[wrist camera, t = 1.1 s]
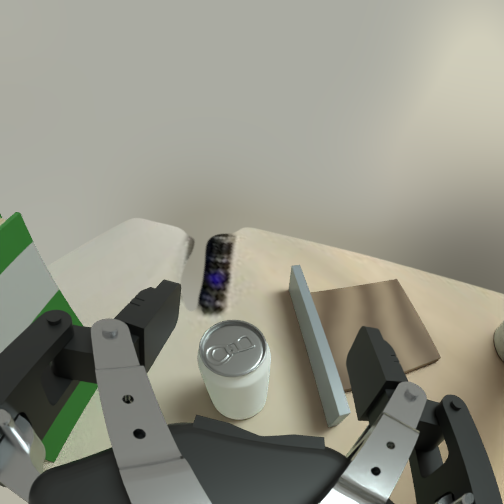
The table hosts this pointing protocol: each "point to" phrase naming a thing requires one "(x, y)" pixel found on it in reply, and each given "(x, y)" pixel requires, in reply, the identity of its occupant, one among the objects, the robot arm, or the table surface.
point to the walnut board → (374, 323)
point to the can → (235, 368)
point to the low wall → (318, 350)
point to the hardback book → (34, 314)
